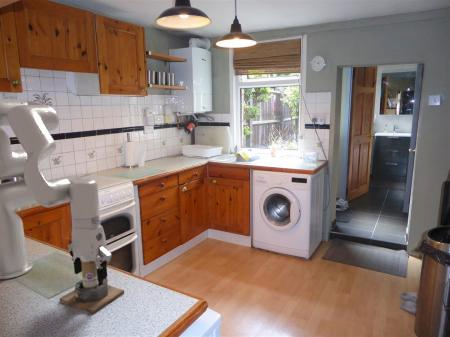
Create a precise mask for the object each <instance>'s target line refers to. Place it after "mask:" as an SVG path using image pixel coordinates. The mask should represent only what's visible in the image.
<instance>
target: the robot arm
mask: <svg viewBox="0 0 450 337" xmlns="http://www.w3.org/2000/svg"><path fill="white" fill-rule="evenodd" d="M59 119H60V118H59V116H58V113H57V111H55V109H54V108H53V107H52V106H50V105H47V104H44V103H40V102H36V101H33V100H29V99H14V98H13V99H9V98H8V99H6V98H0V181H4V180H9V179H14V178H17V180H14V181H13V180H12V181H8V182H7V181H6V182H3V183H0V280H9V279H14V278H16V277H17V278H18V277H19V276H20V277H21V276H23V275H25V274H27V273H28V272H30V271H31V270H32V268H33V267H34V264H33V262H32V261H30V260H28V255H27V248H26V239H25V231H24V223H23V219H22V218H21V217H20V216H19V215H18V214H17V213H16V212H15V211H14V210H17V209H20V208H25V207H27V206H31V205H34V204H35V203H37V204H39V205H40V206H42V207H44V208H51V207H56V206H58V205H63V204H65V203H69V202H70V210H71V211H70V213H71V222H72V229H71V243H69V244H68V245H67V249H68V251H69V255H70V256H71V261H72V262H73V269H74V270H73V272H74V274H75V275H78V274H80V273H82V263H81V260H80V257H81V256H83V257H85V259H86V260H89V261H92V262H95V263H96V265H97V280H98V281H99V282H100V281H102V280H104V279H105V278H107V279H108V267H107V266H108V265H109V264H110V263H111V259H112V256H113V255H112V253H110V251H108V247H107V240H106V239H107V238H106V234H105V231H104V227H103V225H101V222H102V221H101V214H100V213H101V212H100V200H99V190H98V188H99V187H98V182H97V181H96V179H92V178H83V177H81V176H78V175H67V176H63V177H58V178H53V179H46V178H45V176H44V175H43V173H42V170H41V167H40V162H41V161H43V160H45V159H46V158H48V157H49V156H51V155H52V154H53V153H54V152H55V151H56V149H57V143H56V140H54V138H53V136H52V135H51V133H50V132H52V131H54V130H56V129H57V128H58V127H59V125H60V124H59V123H60V120H59ZM7 126H8V127H10V128H11V130H12V131H13V133H14V135H15V137H16V138H17V140H18V142H19V144H20V146H21V147H22V149H12V145H11V139H10V136H9V135H8V134H7V132H6V131H5V130H4V129H3V128H2V127H7ZM100 261H101V262H100Z"/></svg>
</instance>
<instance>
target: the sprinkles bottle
mask: <svg viewBox="0 0 450 337" xmlns="http://www.w3.org/2000/svg"><path fill="white" fill-rule="evenodd" d="M80 260H81V263H82V272H81V275H82V276H81V278H82V279H81V280H83V288H84V290H89V289H95V288H97V287H99V286H98V280H97V269H98V267H97V265H96V263H95V262H92V261H89V260H86V259H85V257H83V256H81V257H80Z"/></svg>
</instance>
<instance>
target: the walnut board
mask: <svg viewBox="0 0 450 337" xmlns="http://www.w3.org/2000/svg"><path fill="white" fill-rule="evenodd" d="M124 294H125V289H121V288H118V287H115V286H112V285H109V284H108V295H107V296H105V297H104V298H102V299H101V300H99V301H96V302H90V303H82V302H79V301H76V298H75V289H74V290H71V291H70V292H68V293H66V294H65V295H63V296H61V297H59V302H61V303H63V304H65V305H68V306H71V307H73V308H76V309H79V310H82V311H84V312H85V313H89V314H91V315H95V314H96V313H97V312H99V311H100V310H101V309H104V308H105V307H106V306H107V305H110V303H112V302H114V301H115V300H117V299H118V298H119V297H121V296H123V295H124Z"/></svg>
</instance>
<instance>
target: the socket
mask: <svg viewBox="0 0 450 337" xmlns="http://www.w3.org/2000/svg"><path fill="white" fill-rule="evenodd" d="M108 285H109V282H108V277H107V278H105V279H104V280H102V281H100V282H99V281H98V286H99V287H97V288H95V289H89V290H84V288H83V279H80V280H79V281H77V282H76V283H75V286H74V290H75V298H76V301H79V302H82V303H90V302H96V301H99V300H101V299H102V298H104V297H105V296H107V295H108Z"/></svg>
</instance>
